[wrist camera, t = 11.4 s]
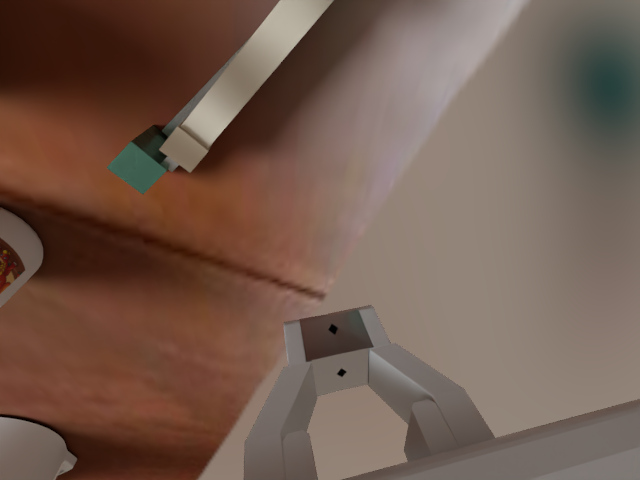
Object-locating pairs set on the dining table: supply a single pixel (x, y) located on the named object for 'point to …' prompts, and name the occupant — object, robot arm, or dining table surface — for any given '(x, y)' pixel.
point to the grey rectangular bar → (242, 79)
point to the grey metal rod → (196, 98)
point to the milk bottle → (17, 254)
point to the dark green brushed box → (143, 160)
